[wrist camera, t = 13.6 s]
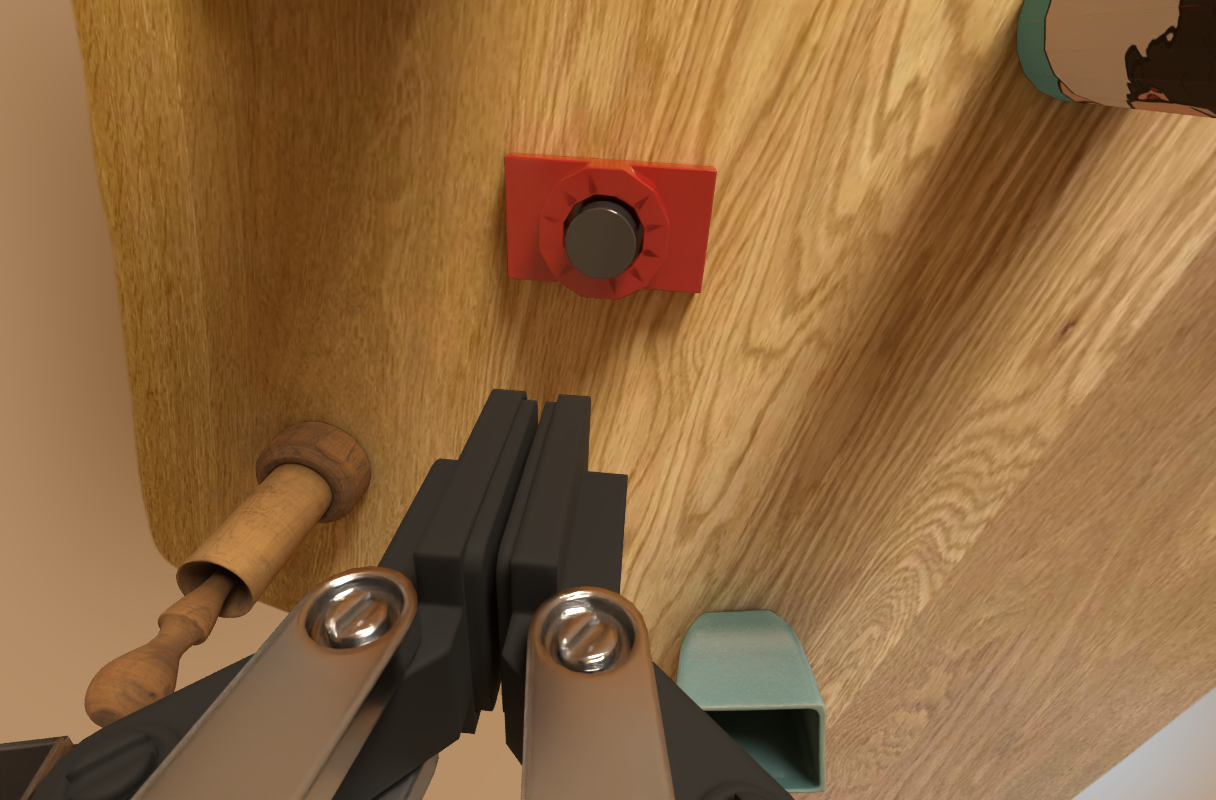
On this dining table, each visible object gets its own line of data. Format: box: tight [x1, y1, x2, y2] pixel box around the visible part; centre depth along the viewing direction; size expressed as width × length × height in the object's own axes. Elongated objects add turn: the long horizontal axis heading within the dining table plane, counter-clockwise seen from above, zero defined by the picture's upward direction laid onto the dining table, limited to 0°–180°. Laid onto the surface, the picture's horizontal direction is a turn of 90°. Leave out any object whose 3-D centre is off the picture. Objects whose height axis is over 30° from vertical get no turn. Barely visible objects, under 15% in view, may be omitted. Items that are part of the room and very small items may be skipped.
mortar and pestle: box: [85, 421, 371, 728], centre depth 32 cm, size 7×6×18 cm
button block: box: [504, 153, 717, 300], centre depth 30 cm, size 10×6×3 cm, turn 87°
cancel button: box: [565, 200, 638, 279], centre depth 28 cm, size 3×3×2 cm
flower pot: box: [676, 610, 826, 793], centre depth 41 cm, size 9×9×9 cm
